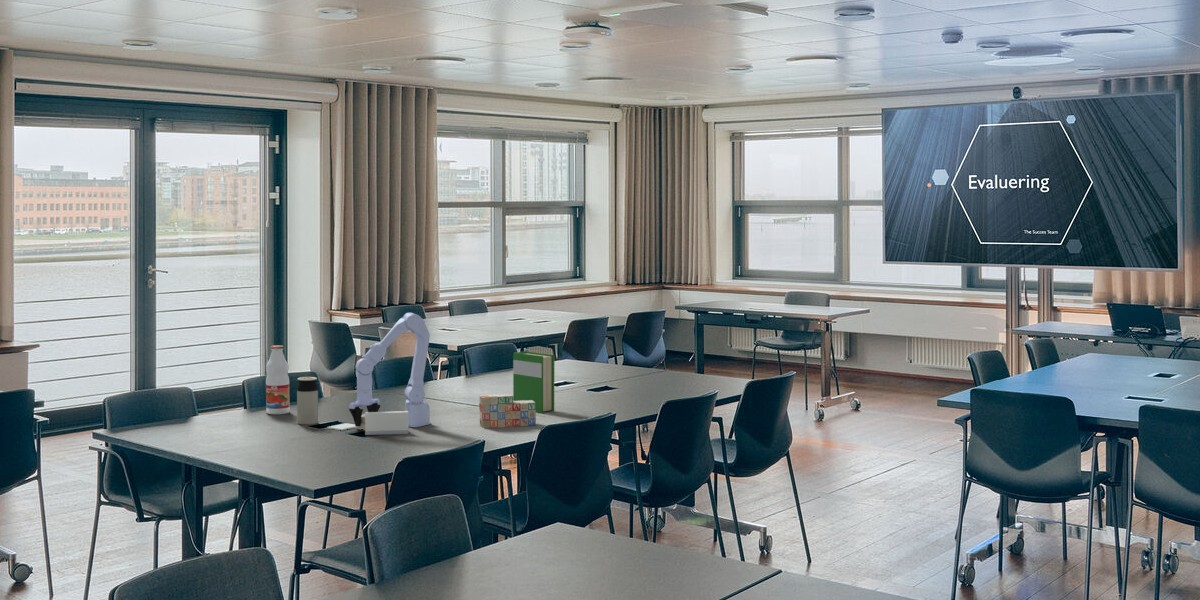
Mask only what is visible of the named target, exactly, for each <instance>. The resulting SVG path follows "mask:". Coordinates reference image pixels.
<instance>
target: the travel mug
mask: <svg viewBox="0 0 1200 600" xmlns="http://www.w3.org/2000/svg"><path fill="white" fill-rule="evenodd" d="M317 380H318V378H317V377H315V376H300V377H298V378H297V381H298V384H297V386H296V404H297V405H296V406H297V407H296V408H297V414H296V415H297V417H296V419H297V424H299V425H301V426H309V425H316V424H318V423H319V386H318V384H317Z"/></svg>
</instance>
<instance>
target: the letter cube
mask: <svg viewBox="0 0 1200 600" xmlns="http://www.w3.org/2000/svg"><path fill="white" fill-rule="evenodd" d="M361 429H363V430H362V431H365V413H363V414H362V416H361V426H360V427H358V426H356V428H355V430H361Z"/></svg>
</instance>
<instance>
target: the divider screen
mask: <svg viewBox="0 0 1200 600" xmlns="http://www.w3.org/2000/svg"><path fill="white" fill-rule="evenodd" d="M364 414H365V430H364V435H365V436H373V435H374V436H376V435H408V434H409V426H408V411H405V410H403V411H401V410H399V411H378V412H368V411H366V412H364Z"/></svg>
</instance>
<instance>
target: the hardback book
mask: <svg viewBox="0 0 1200 600" xmlns="http://www.w3.org/2000/svg"><path fill="white" fill-rule="evenodd" d="M512 355H513V356H512V358H513V361H512V363H513V364H512V367H513V370H512V371H513V372H512V374H513V377H512V378H513V381H512V383H513V384H512V385H513V387H512V389H513V390H512V391H513V393H512V396H513V401H523V400H532V401H534V402H535V403H536V414H544V412H555V354H552V353H550V354H549V353H541V352H535V351H534V352H533V351H528V350H527V351H517V352H513V354H512Z"/></svg>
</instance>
